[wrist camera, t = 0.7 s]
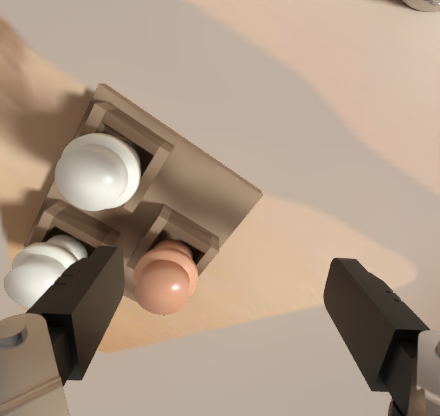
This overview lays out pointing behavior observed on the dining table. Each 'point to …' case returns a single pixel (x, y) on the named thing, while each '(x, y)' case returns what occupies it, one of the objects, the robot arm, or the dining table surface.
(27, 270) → the knob
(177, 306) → the middle knob
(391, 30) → the dining table surface
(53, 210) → the mount block
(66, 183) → the knob
